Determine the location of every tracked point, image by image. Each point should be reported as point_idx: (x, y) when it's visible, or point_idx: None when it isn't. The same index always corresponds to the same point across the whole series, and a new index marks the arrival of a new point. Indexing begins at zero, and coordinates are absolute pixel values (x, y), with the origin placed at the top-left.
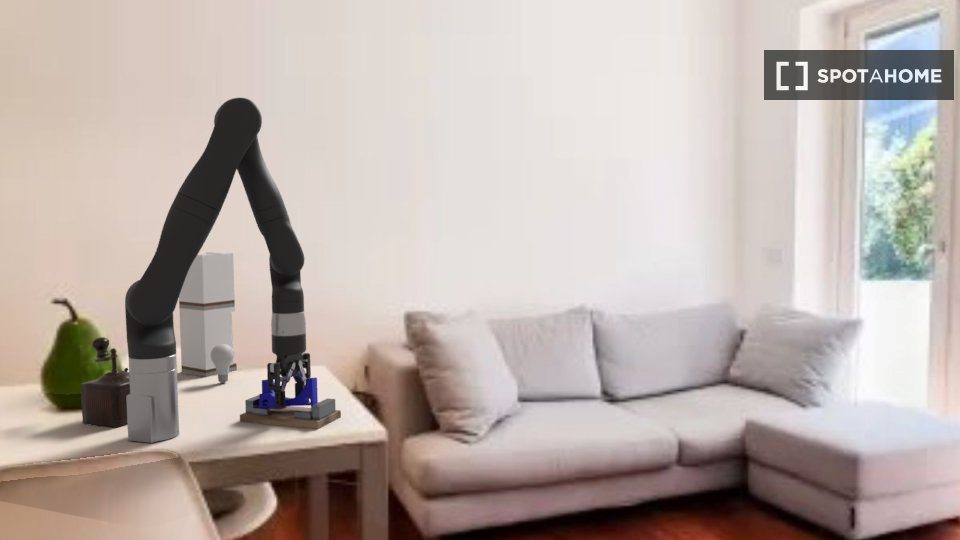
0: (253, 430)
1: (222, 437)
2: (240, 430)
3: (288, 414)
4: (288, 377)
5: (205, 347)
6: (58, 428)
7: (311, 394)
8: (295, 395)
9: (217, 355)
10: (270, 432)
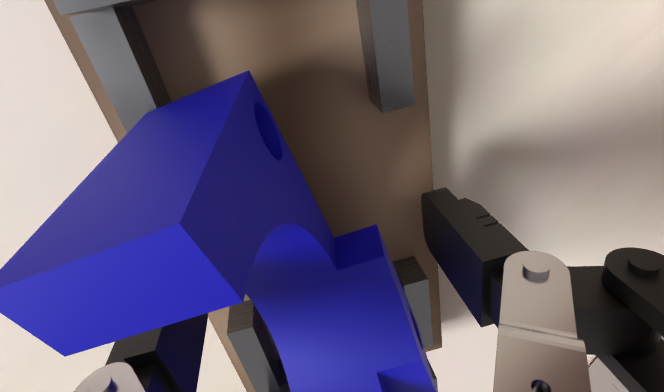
0: (526, 190)
1: (636, 212)
2: (538, 232)
3: (341, 192)
4: (557, 369)
5: None
6: None
7: (239, 119)
8: (206, 317)
9: None
10: (539, 97)
